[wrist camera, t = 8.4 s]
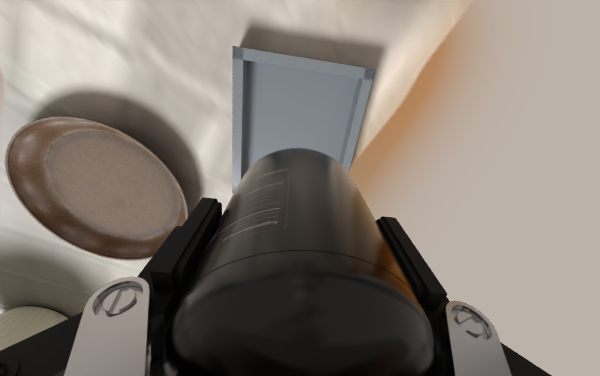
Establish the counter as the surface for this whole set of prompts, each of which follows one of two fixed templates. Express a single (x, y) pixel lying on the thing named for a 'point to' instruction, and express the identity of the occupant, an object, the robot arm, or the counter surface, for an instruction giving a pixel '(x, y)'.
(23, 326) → the canister
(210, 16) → the counter surface
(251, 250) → the supplement bottle
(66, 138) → the plant saucer
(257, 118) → the tray
